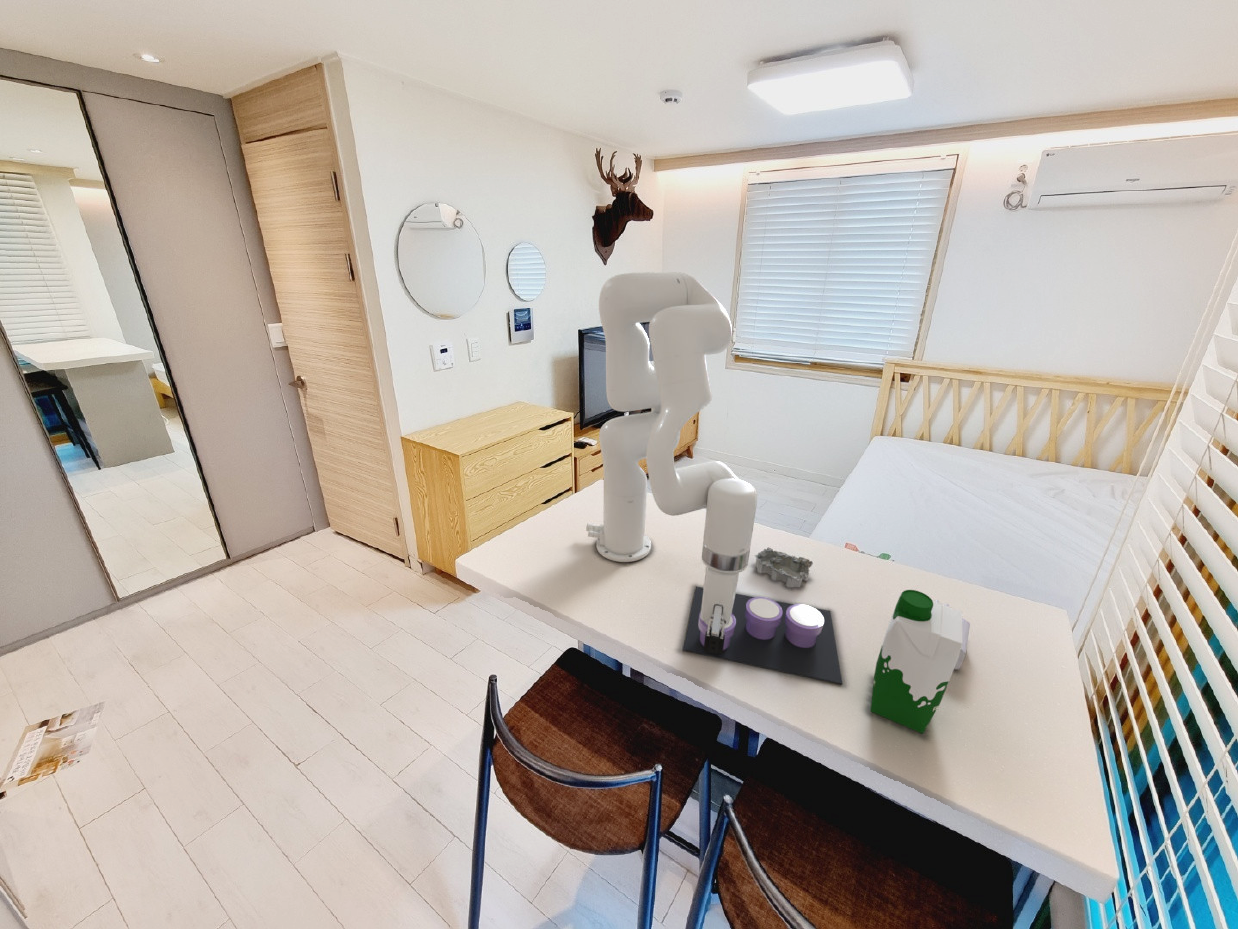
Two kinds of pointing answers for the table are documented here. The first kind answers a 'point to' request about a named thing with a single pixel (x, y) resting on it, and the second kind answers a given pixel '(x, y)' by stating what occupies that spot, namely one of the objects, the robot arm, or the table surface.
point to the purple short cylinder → (728, 629)
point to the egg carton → (783, 567)
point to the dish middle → (762, 617)
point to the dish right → (803, 625)
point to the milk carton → (916, 660)
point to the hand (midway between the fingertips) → (715, 636)
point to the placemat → (771, 645)
